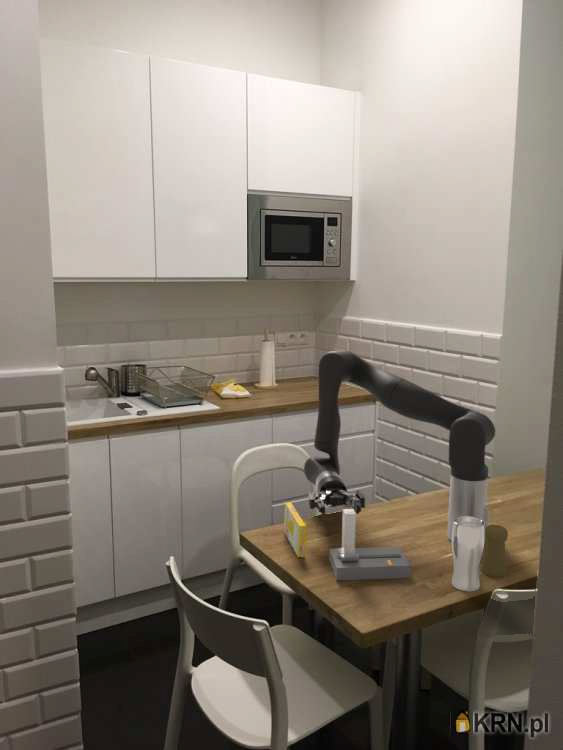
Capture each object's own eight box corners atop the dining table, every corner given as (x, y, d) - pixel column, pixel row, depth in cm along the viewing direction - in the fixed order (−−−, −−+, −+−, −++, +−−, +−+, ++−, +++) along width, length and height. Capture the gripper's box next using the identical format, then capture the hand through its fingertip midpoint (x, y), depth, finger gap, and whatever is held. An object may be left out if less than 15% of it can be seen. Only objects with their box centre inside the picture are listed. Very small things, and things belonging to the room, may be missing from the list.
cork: (508, 578, 146) (512, 533, 144) (481, 575, 147) (484, 530, 145) (505, 566, 152) (508, 522, 150) (478, 564, 153) (481, 520, 151)
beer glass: (476, 595, 138) (481, 530, 135) (445, 587, 142) (448, 523, 139) (485, 582, 144) (489, 519, 141) (454, 574, 147) (458, 513, 145)
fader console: (398, 558, 156) (399, 545, 155) (410, 577, 146) (410, 564, 145) (329, 560, 154) (329, 547, 154) (336, 580, 144) (336, 567, 144)
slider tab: (354, 551, 152) (355, 507, 150) (358, 560, 147) (359, 515, 145) (337, 551, 151) (338, 507, 149) (341, 561, 146) (342, 515, 144)
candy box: (306, 557, 156) (306, 525, 154) (297, 558, 155) (298, 526, 154) (291, 531, 171) (291, 501, 170) (283, 531, 171) (283, 502, 170)
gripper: (304, 475, 173) (312, 496, 157) (356, 474, 174) (369, 495, 158) (304, 501, 174) (312, 525, 158) (356, 500, 175) (368, 524, 159)
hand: (341, 510), depth 158 cm, fingers open, 8 cm apart
